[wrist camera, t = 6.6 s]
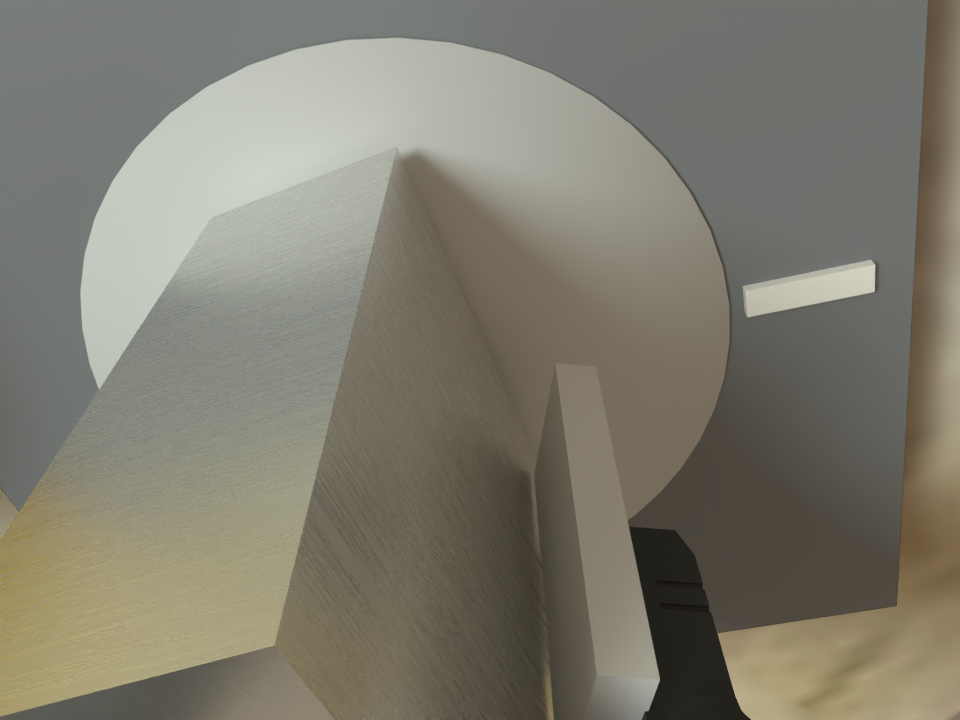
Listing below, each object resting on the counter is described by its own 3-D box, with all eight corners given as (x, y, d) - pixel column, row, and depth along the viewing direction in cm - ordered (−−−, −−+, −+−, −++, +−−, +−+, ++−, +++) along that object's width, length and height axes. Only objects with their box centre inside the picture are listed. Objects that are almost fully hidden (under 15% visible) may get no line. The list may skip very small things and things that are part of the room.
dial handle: (211, 217, 15) (-137, 753, 6) (396, 146, 14) (274, 645, 6) (421, 563, 20) (378, 1120, 11) (567, 524, 19) (634, 1088, 11)
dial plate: (197, 642, 26) (170, 721, 24) (-265, -45, 15) (-395, -18, 13) (859, 534, 23) (900, 612, 21) (872, -393, 12) (957, -435, 10)
